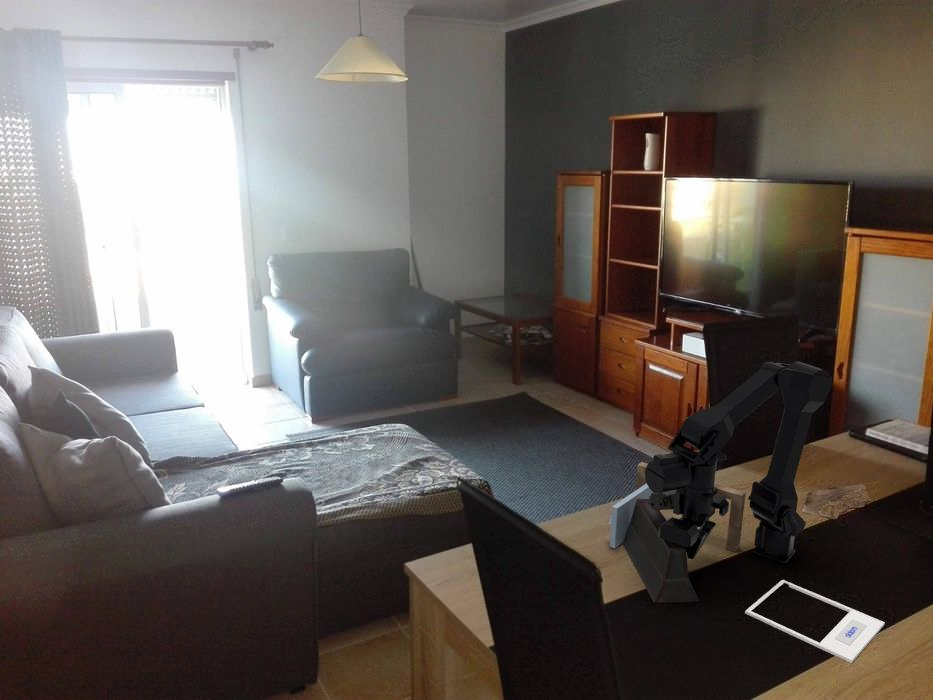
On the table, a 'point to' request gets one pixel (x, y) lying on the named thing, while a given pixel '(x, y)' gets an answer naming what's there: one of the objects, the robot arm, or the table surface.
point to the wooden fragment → (835, 501)
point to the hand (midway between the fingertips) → (690, 558)
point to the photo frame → (844, 637)
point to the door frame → (729, 493)
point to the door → (625, 515)
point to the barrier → (657, 557)
